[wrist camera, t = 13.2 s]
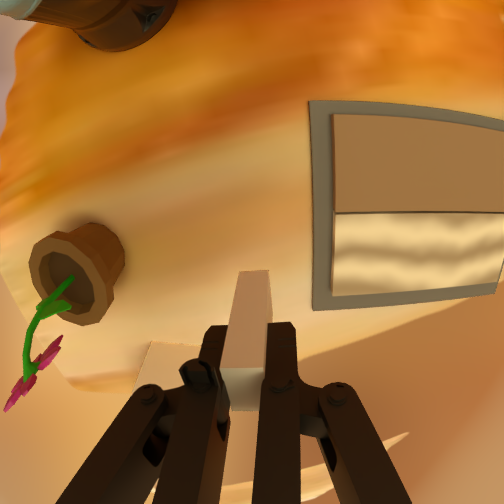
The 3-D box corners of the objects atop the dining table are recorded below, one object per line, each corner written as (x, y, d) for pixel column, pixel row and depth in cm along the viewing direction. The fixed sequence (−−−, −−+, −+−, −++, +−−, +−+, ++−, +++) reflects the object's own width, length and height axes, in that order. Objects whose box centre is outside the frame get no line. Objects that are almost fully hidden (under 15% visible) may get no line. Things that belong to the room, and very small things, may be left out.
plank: (332, 209, 39) (335, 214, 37) (506, 209, 36) (513, 214, 34) (330, 288, 44) (332, 296, 43) (491, 275, 41) (497, 281, 39)
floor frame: (308, 101, 34) (311, 100, 32) (519, 124, 31) (530, 127, 28) (312, 307, 47) (314, 319, 45) (492, 290, 44) (499, 299, 41)
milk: (218, 388, 58) (195, 505, 35) (164, 382, 59) (127, 490, 35) (212, 346, 53) (179, 480, 29) (151, 340, 53) (99, 460, 30)
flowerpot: (102, 301, 50) (14, 433, 24) (52, 241, 46) (-66, 348, 19) (154, 264, 46) (53, 426, 19) (96, 192, 41) (-59, 304, 15)
